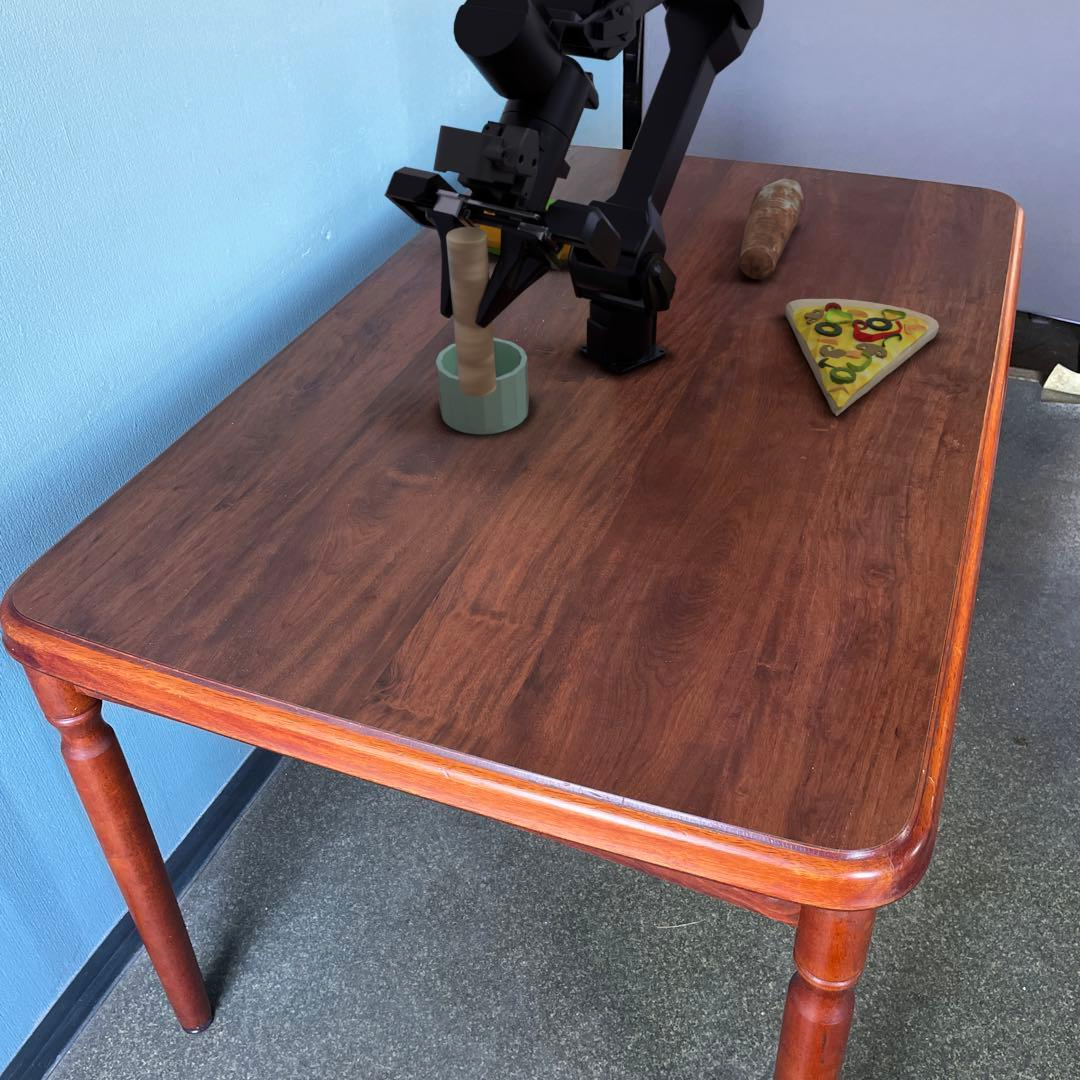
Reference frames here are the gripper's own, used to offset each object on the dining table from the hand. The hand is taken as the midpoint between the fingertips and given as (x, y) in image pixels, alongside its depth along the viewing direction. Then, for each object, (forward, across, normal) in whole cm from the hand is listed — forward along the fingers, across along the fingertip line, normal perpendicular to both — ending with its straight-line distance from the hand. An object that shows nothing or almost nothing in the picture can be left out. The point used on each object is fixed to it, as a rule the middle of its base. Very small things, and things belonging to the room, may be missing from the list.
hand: (461, 321), depth 82 cm
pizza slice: (-14, +20, +36) cm, 44 cm away
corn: (-18, -20, +41) cm, 49 cm away
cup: (+4, -6, +18) cm, 19 cm away
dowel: (+4, 0, +6) cm, 7 cm away
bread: (-29, +3, +52) cm, 59 cm away
